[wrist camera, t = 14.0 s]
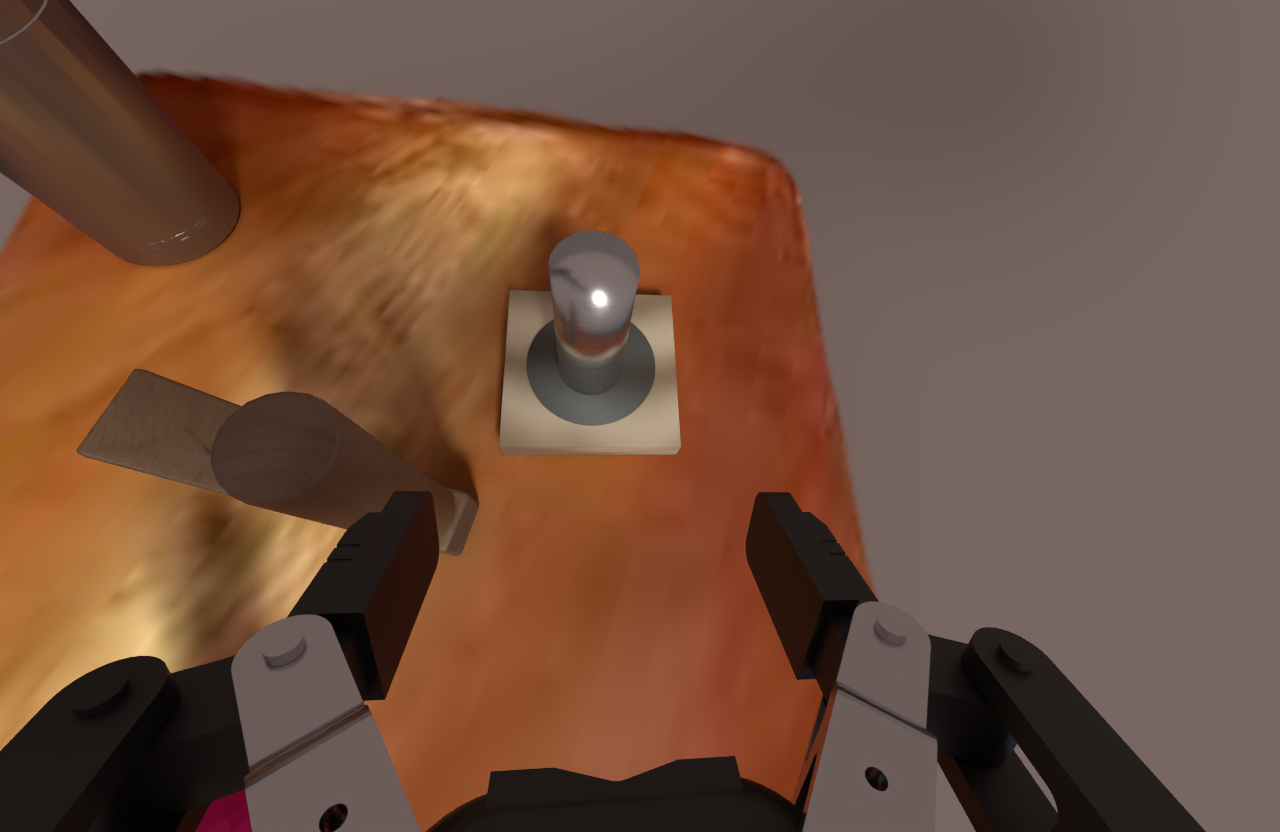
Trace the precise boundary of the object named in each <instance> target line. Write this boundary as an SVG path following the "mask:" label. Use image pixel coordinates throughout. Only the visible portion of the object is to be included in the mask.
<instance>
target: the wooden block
mask: <svg viewBox="0 0 1280 832" xmlns="http://www.w3.org/2000/svg"><path fill="white" fill-rule="evenodd" d="M77 453H78V454H80V455H82V456H84V457H87V458H91V459H94V460H98V461H102V462H106V463H109V464H113V465H117V466H121V467H125V468H128V469H132V470H136V471H140V472H143V473H147V474H151V475H155V476H158V477H162V478H166V479H170V480H173V481H177V482H181V483H185V484H188V485H192V486H196V487H200V488H203V489H207V490H211V491H215V492H218V493H222V494H225V495H228V496H231V497H233V498H235V499H237V500H239V501H242V502H244V503H246V504H248V505H252V506H256V507H260V508H264V509H268V510H272V511H276V512H280V513H284V514H288V515H292V516H296V517H300V518H304V519H308V520H312V521H316V522H320V523H323V524H327V525H331V526H335V527H339V528H343V529H348V528H349V527H350V526H351V525H352V524H354V523H355V522H356V521H358V520H359V519H360V518H362V517H363V516H365V515H366V514H367V513H369V512H381V511H382V510H383V508H384V507H385V505H386V503H387V502H388V500H389V499H390V497H391V495H392V494H393V493H394V492H395V491H430V492H431V493H432V495H433V500H434V507H435V515H436V522H437V529H438V537H439V552H442V553H446V554H450V555H454V556H458V555H460V554H461V553H462V550H463V548H464V545H465V542H466V540H467V537H468V534H469V532H470V529H471V526H472V523H473V521H474V518H475V515H476V513H477V510H478V507H479V503H478V502H477V501H476V500H475V499H473V498H472V497H471V496H470V495H468V494H467V493H466V492H463V491H460V490H456V489H452V488H448V487H445V486H441V485H439V484H438V483H436V482H435V481H434V480H432V479H431V478H430V477H428V476H427V475H425V474H424V473H423V472H421V471H420V470H419V469H417V468H416V467H415V466H413V465H412V464H410V463H409V462H408V461H406V460H405V459H404V458H402V457H401V456H399V455H398V454H397V453H395V452H394V451H393V450H391V449H390V448H388V447H387V446H386V445H384V444H383V443H382V442H380V441H379V440H377V439H376V438H375V437H373V436H372V435H371V434H369V433H368V432H366V431H365V430H364V429H362V428H361V427H360V426H358V425H357V424H355V423H354V422H353V421H351V420H350V419H349V418H347V417H346V416H345V415H343V414H342V413H340V412H339V411H338V410H336V409H335V408H334V407H332V406H331V405H329V404H328V403H327V402H325V401H323V400H321V399H319V398H317V397H315V396H312V395H310V394H305V393H296V392H280V393H273V394H267V395H264V396H261V397H259V398H257V399H254V400H252V401H249V402H247V403H246V404H244V405H243V406H239V405H237V404H234V403H231V402H229V401H226V400H223V399H221V398H218V397H215V396H213V395H210V394H207V393H205V392H202V391H200V390H197V389H194V388H192V387H189V386H186V385H184V384H181V383H178V382H176V381H173V380H170V379H168V378H165V377H163V376H160V375H157V374H155V373H152V372H149V371H147V370H142V369H135V370H134V371H133V372H132V374H131V375H130V376H129V378H128V379H127V381H126V382H125V383H124V385H123V386H122V387H121V389H120V390H119V392H118V393H117V394H116V396H115V397H114V399H113V400H112V401H111V403H110V404H109V406H108V407H107V408H106V410H105V411H104V412H103V414H102V415H101V417H100V418H99V419H98V421H97V422H96V424H95V425H94V426H93V428H92V429H91V431H90V432H89V433H88V435H87V436H86V438H85V439H84V440H83V442H82V443H81V444H80V446H79V447H78V449H77Z"/></svg>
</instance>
